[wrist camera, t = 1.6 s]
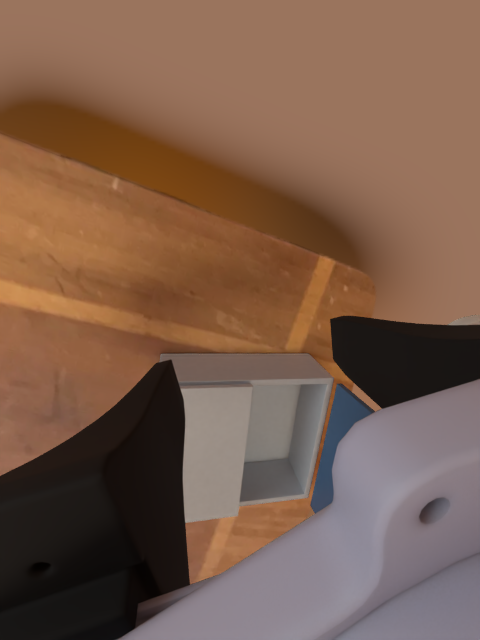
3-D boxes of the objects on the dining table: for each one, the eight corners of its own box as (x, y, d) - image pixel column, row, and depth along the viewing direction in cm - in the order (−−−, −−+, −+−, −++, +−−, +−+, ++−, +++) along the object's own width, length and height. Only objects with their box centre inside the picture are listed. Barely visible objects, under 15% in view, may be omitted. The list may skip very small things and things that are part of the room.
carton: (308, 353, 25) (340, 383, 20) (289, 458, 28) (312, 506, 23) (161, 353, 22) (154, 388, 17) (160, 469, 25) (155, 527, 20)
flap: (337, 383, 20) (341, 383, 20) (310, 505, 23) (314, 504, 23) (411, 447, 14) (417, 446, 14) (360, 596, 17) (365, 594, 18)
